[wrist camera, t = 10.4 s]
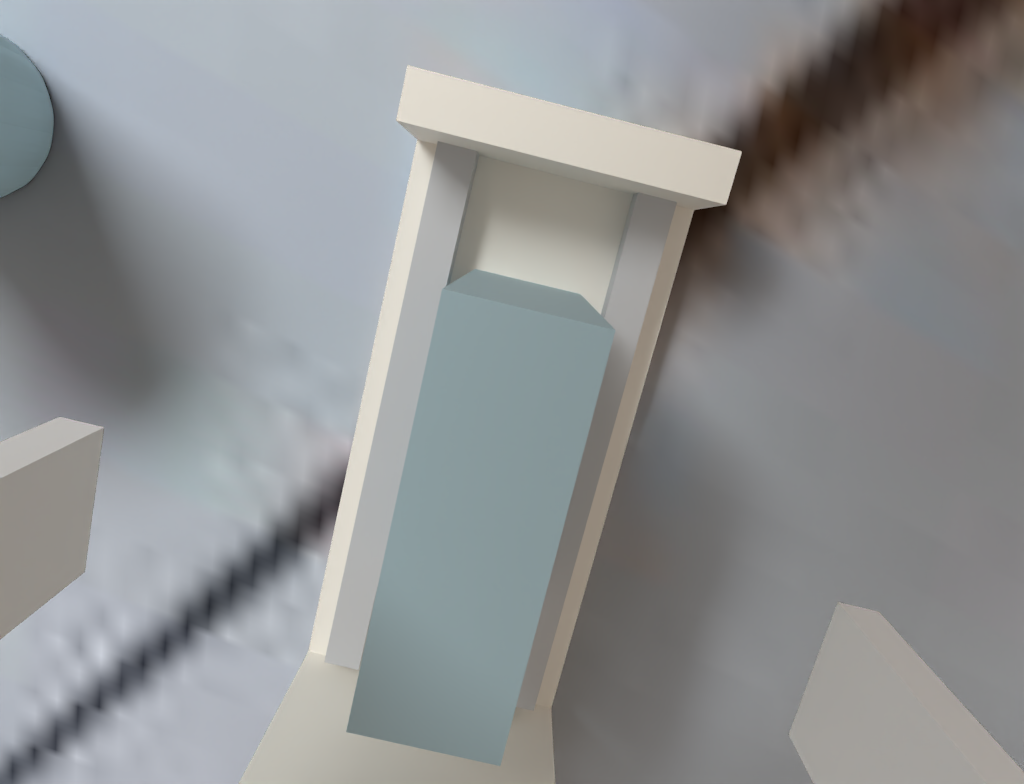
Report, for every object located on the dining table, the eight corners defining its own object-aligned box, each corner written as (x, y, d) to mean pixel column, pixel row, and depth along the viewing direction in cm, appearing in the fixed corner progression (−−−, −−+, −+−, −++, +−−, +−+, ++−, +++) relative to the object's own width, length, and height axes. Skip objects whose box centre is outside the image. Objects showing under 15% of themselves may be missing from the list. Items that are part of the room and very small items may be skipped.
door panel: (475, 268, 25) (441, 288, 15) (580, 294, 25) (615, 330, 15) (411, 551, 27) (345, 731, 17) (509, 573, 27) (500, 766, 17)
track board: (431, 99, 25) (292, -103, 10) (699, 168, 25) (945, 69, 10) (302, 696, 29) (75, 1163, 14) (534, 749, 29) (541, 1261, 15)
